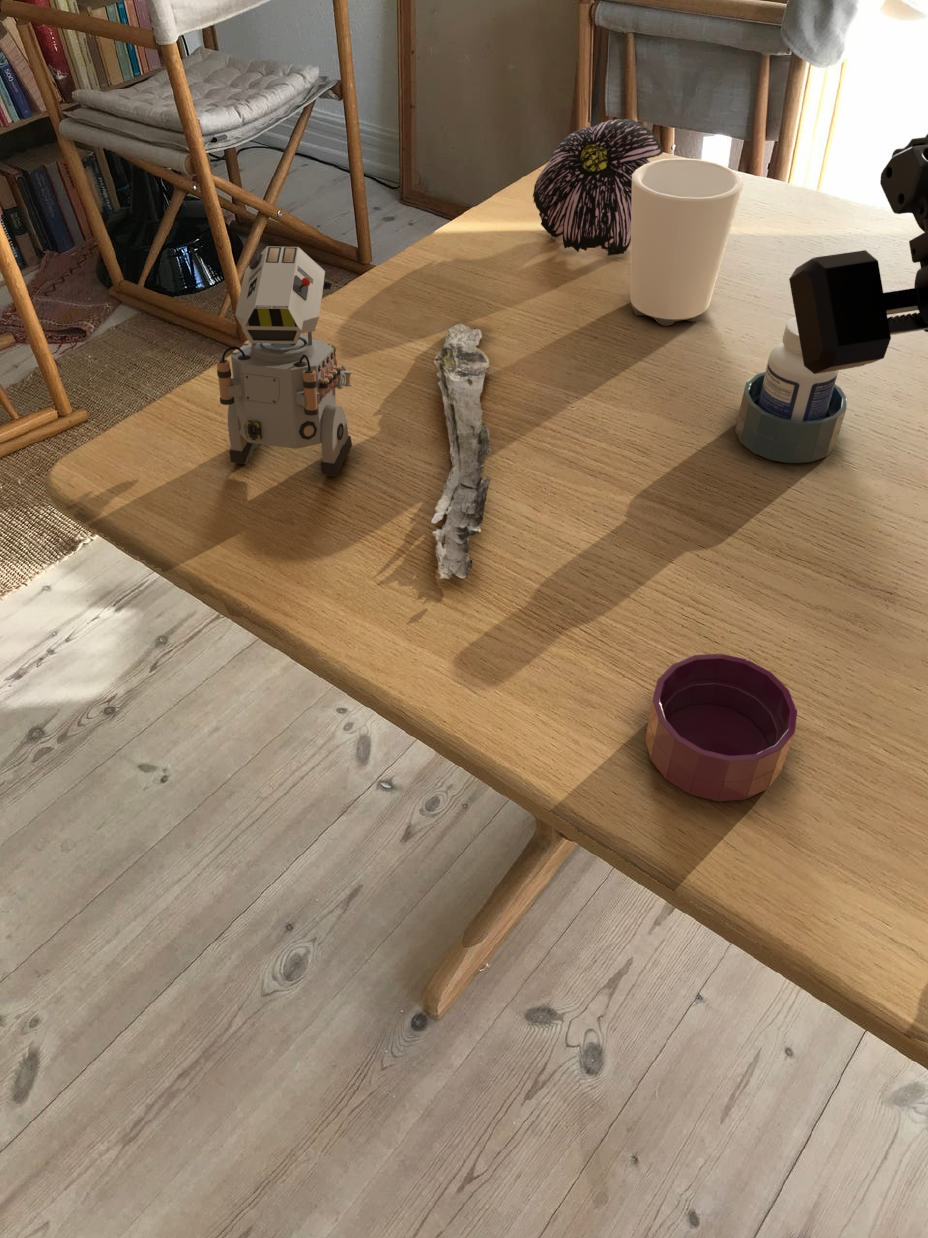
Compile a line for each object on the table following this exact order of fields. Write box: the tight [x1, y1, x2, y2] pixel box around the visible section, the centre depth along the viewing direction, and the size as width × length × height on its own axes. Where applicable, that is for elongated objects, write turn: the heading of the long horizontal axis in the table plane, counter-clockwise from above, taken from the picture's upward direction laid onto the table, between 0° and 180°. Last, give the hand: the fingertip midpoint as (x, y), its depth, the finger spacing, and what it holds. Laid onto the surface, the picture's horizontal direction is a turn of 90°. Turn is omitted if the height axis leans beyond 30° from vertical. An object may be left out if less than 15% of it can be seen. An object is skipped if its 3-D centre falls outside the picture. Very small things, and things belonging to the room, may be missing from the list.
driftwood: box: [430, 323, 492, 580], centre depth 83 cm, size 37×2×5 cm
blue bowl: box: [735, 371, 848, 464], centre depth 82 cm, size 8×8×4 cm
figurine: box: [216, 245, 353, 477], centre depth 78 cm, size 9×12×15 cm
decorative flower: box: [532, 118, 665, 256], centre depth 109 cm, size 15×12×15 cm
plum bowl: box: [644, 653, 798, 802], centre depth 59 cm, size 8×8×4 cm
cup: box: [629, 157, 744, 327], centre depth 95 cm, size 10×10×13 cm
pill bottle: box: [758, 316, 840, 421], centre depth 80 cm, size 5×5×10 cm
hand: (864, 333), depth 67 cm, fingers open, 9 cm apart
